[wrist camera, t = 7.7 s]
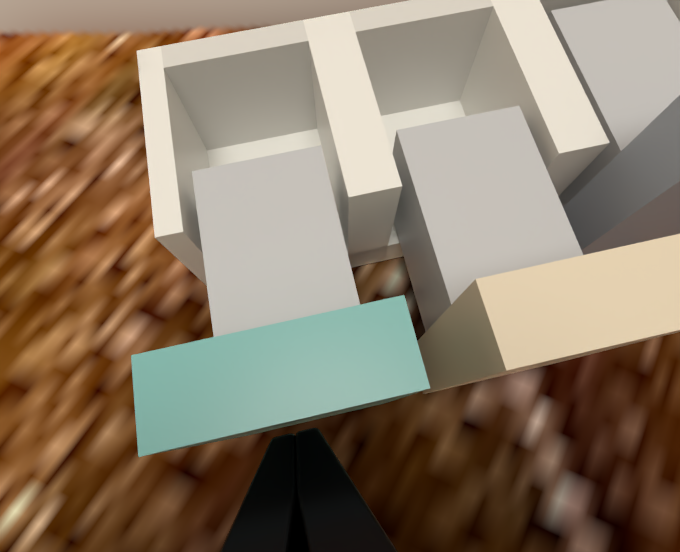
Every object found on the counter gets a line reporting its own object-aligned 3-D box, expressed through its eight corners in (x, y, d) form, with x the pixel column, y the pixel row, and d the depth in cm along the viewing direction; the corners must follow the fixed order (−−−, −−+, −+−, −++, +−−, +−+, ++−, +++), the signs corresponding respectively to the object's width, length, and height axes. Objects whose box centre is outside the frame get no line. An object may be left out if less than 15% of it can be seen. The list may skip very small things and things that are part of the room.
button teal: (386, 403, 14) (430, 388, 6) (249, 435, 13) (138, 456, 6) (339, 213, 16) (333, 44, 9) (220, 238, 15) (112, 86, 8)
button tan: (554, 363, 14) (773, 308, 7) (423, 394, 14) (507, 370, 7) (486, 182, 16) (599, -6, 9) (371, 206, 16) (392, 33, 9)
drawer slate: (673, 242, 15) (964, 88, 8) (554, 269, 15) (746, 133, 8) (595, 89, 17) (772, -142, 10) (490, 110, 17) (595, -112, 10)
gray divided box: (646, 203, 17) (782, 106, 11) (218, 296, 16) (154, 237, 11) (585, 82, 19) (679, -50, 13) (198, 158, 18) (136, 50, 12)
